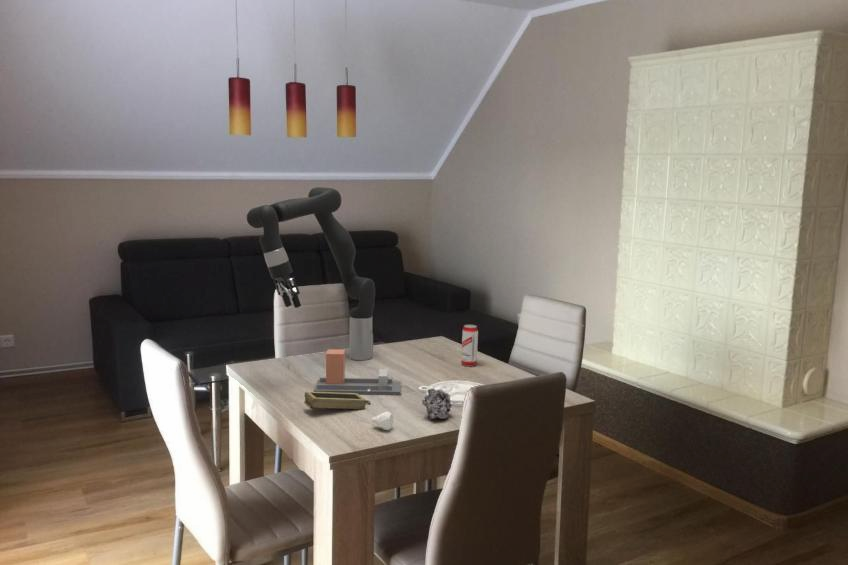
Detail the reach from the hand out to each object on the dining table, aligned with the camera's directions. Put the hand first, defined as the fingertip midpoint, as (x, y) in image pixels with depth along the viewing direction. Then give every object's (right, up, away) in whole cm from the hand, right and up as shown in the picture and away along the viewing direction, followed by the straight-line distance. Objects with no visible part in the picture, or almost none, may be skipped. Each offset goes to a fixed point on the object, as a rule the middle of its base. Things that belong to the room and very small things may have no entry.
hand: (293, 306), depth 250 cm
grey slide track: (+22, -29, +5) cm, 37 cm away
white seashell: (+32, -36, -31) cm, 58 cm away
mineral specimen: (+49, -35, -19) cm, 63 cm away
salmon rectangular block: (+14, -28, +5) cm, 31 cm away
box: (+18, -33, -15) cm, 40 cm away
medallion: (+56, -32, +2) cm, 64 cm away
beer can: (+63, -25, +40) cm, 79 cm away
